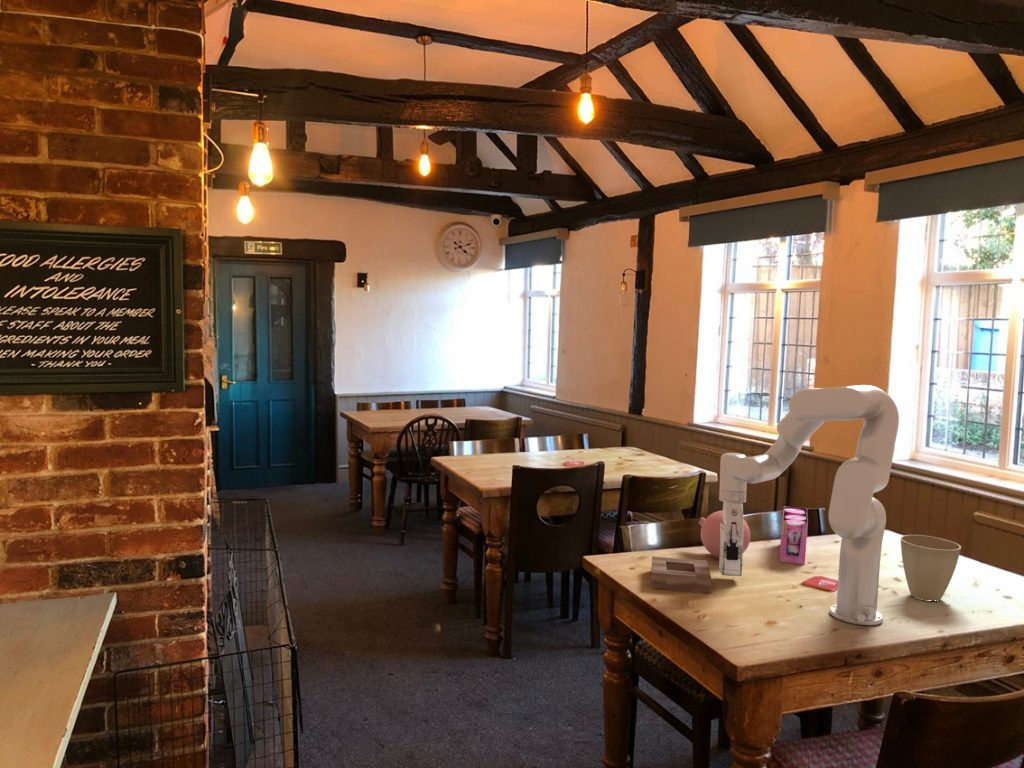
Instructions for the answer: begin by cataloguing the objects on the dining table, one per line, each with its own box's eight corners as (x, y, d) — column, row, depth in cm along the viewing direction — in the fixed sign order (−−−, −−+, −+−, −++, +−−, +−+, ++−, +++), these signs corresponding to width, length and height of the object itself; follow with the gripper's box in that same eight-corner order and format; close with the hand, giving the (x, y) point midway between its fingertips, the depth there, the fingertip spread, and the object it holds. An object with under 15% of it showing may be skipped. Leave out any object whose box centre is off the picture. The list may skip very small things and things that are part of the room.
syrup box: (738, 570, 227) (739, 522, 227) (742, 576, 222) (743, 527, 221) (718, 569, 228) (720, 521, 227) (722, 575, 222) (723, 526, 221)
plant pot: (925, 609, 206) (929, 550, 205) (884, 590, 221) (888, 535, 219) (969, 605, 210) (974, 548, 209) (927, 587, 225) (931, 533, 223)
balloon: (720, 545, 261) (722, 501, 260) (759, 563, 243) (762, 515, 242) (681, 549, 256) (684, 503, 254) (719, 567, 237) (721, 518, 236)
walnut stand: (710, 593, 213) (711, 577, 212) (651, 588, 215) (652, 572, 215) (705, 575, 229) (706, 560, 228) (651, 570, 231) (652, 556, 231)
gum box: (805, 566, 241) (808, 524, 240) (778, 563, 244) (781, 521, 243) (805, 547, 263) (807, 508, 262) (781, 544, 266) (783, 505, 265)
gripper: (750, 502, 214) (748, 565, 215) (742, 490, 231) (740, 549, 232) (722, 501, 216) (720, 564, 217) (716, 489, 233) (714, 548, 234)
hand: (730, 556), depth 225 cm, fingers closed on syrup box, 6 cm apart
